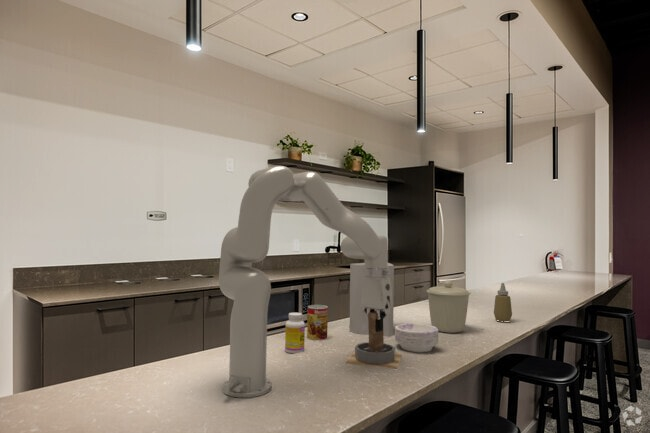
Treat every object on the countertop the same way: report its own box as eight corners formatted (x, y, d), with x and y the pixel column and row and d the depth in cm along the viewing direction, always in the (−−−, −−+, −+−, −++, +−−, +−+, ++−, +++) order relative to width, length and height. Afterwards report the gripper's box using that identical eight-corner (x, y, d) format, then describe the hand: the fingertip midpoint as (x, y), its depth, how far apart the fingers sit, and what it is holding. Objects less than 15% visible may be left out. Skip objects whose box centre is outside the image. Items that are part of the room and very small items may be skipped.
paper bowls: (405, 341, 160) (405, 320, 160) (444, 348, 151) (444, 326, 151) (387, 350, 147) (387, 327, 148) (428, 358, 139) (428, 334, 139)
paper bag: (374, 339, 162) (375, 266, 163) (348, 331, 174) (349, 263, 175) (406, 332, 174) (407, 264, 175) (380, 325, 186) (381, 262, 187)
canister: (479, 332, 176) (479, 281, 177) (451, 337, 166) (451, 284, 167) (445, 323, 191) (445, 277, 192) (417, 328, 181) (417, 279, 182)
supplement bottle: (301, 354, 141) (302, 316, 141) (282, 353, 142) (283, 315, 143) (306, 349, 147) (306, 312, 148) (288, 347, 149) (288, 311, 149)
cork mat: (397, 370, 126) (397, 368, 126) (345, 365, 131) (345, 363, 131) (402, 355, 142) (402, 353, 142) (355, 351, 146) (355, 349, 146)
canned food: (318, 341, 158) (319, 309, 158) (302, 337, 163) (303, 306, 163) (331, 337, 164) (331, 306, 165) (315, 334, 169) (316, 304, 169)
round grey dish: (402, 358, 136) (402, 348, 136) (377, 367, 127) (378, 355, 127) (372, 350, 145) (372, 340, 145) (347, 357, 136) (347, 346, 136)
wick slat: (383, 348, 137) (383, 311, 137) (374, 351, 134) (374, 313, 134) (377, 346, 139) (377, 310, 139) (368, 349, 136) (368, 312, 136)
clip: (387, 356, 136) (387, 348, 136) (375, 360, 132) (375, 352, 132) (374, 353, 140) (374, 345, 140) (362, 356, 136) (362, 349, 136)
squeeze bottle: (491, 319, 202) (491, 281, 203) (509, 320, 201) (509, 282, 202) (496, 323, 194) (496, 284, 195) (514, 323, 193) (514, 284, 194)
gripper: (403, 274, 134) (402, 333, 133) (364, 270, 145) (364, 324, 145) (388, 276, 129) (388, 337, 128) (350, 272, 140) (349, 327, 140)
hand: (375, 329), depth 136 cm, fingers closed on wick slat, 2 cm apart
